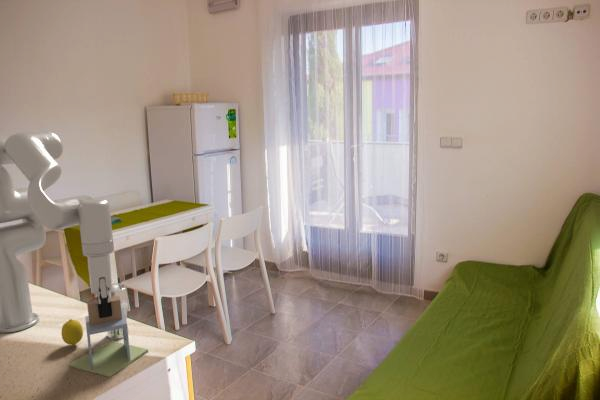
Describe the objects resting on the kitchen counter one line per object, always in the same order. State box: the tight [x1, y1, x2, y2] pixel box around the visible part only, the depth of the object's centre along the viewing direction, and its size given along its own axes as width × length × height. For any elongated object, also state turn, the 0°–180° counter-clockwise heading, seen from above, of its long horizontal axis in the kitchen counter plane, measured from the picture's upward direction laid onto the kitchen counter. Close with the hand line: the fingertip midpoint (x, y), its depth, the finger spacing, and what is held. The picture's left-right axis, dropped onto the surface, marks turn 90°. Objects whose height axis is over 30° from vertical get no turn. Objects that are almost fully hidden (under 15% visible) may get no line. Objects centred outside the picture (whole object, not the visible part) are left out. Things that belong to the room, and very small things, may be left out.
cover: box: [84, 296, 130, 369], centre depth 129 cm, size 10×10×16 cm
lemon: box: [61, 318, 84, 346], centre depth 138 cm, size 6×6×8 cm
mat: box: [69, 339, 149, 378], centre depth 131 cm, size 14×14×1 cm
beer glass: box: [107, 283, 130, 340], centre depth 143 cm, size 7×7×15 cm
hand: (105, 312), depth 128 cm, fingers open, 4 cm apart
